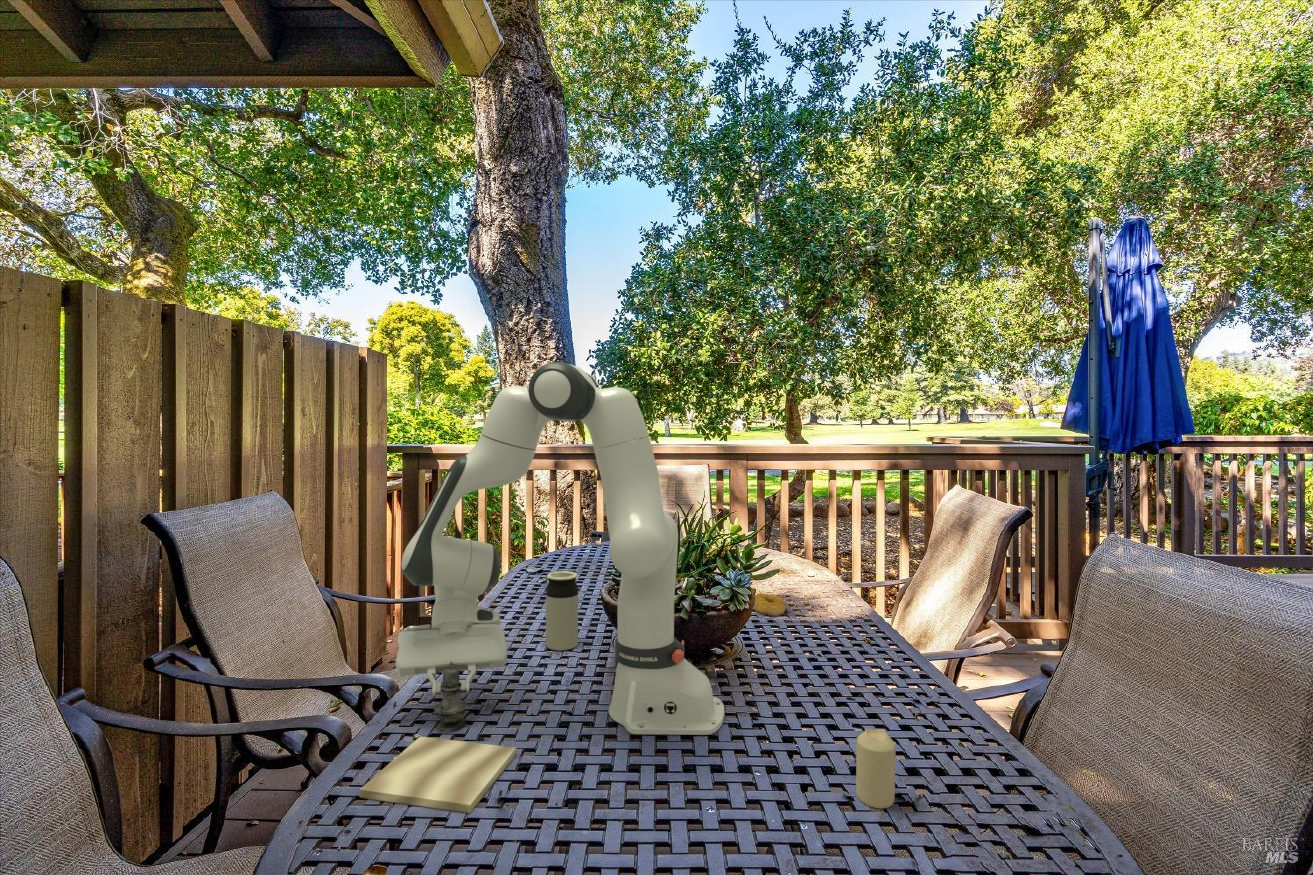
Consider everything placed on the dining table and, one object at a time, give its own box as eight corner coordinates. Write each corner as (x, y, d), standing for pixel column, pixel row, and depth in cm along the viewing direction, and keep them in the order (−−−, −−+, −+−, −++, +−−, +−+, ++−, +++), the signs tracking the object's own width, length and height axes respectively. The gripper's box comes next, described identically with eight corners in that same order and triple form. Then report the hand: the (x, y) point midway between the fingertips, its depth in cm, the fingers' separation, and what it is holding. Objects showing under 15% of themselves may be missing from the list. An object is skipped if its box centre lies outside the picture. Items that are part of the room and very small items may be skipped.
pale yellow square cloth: (516, 754, 105) (516, 747, 105) (470, 812, 90) (469, 804, 90) (420, 743, 109) (420, 736, 109) (359, 797, 93) (359, 789, 93)
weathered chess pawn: (457, 734, 112) (457, 668, 112) (428, 731, 113) (427, 666, 113) (473, 719, 118) (473, 656, 117) (445, 716, 119) (445, 654, 119)
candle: (876, 813, 90) (877, 745, 90) (848, 792, 95) (849, 728, 95) (902, 802, 93) (903, 736, 93) (874, 783, 98) (875, 720, 97)
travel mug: (575, 651, 152) (575, 578, 152) (543, 651, 153) (543, 578, 152) (580, 640, 160) (580, 570, 160) (549, 639, 160) (549, 570, 160)
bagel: (762, 618, 179) (763, 602, 179) (746, 607, 190) (747, 591, 190) (793, 615, 182) (794, 599, 182) (776, 604, 193) (776, 589, 193)
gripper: (397, 619, 119) (388, 691, 110) (506, 611, 124) (507, 680, 115) (401, 634, 124) (392, 704, 114) (506, 626, 129) (507, 693, 119)
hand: (450, 692), depth 115 cm, fingers closed on weathered chess pawn, 4 cm apart
